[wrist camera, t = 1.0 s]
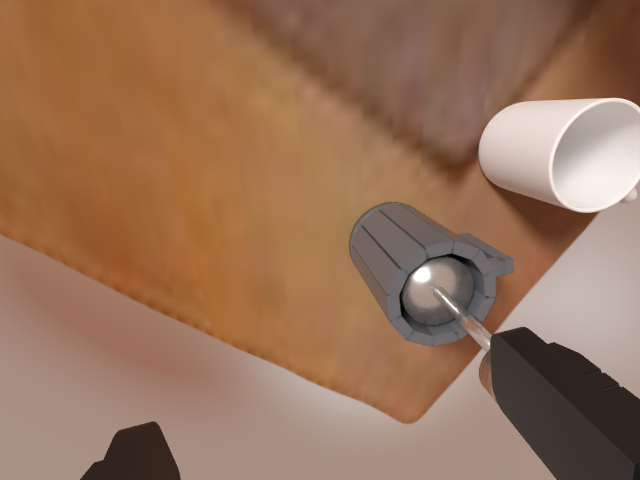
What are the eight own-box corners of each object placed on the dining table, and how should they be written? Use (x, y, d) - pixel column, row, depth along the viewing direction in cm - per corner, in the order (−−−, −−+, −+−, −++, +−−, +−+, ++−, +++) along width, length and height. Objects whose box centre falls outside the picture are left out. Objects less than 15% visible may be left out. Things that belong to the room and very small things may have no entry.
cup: (511, 83, 35) (604, 73, 26) (593, 152, 39) (701, 164, 29) (458, 161, 37) (527, 178, 28) (541, 219, 40) (628, 253, 31)
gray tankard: (343, 211, 37) (380, 254, 26) (451, 189, 38) (531, 222, 27) (355, 288, 40) (392, 357, 28) (454, 266, 41) (529, 325, 29)
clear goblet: (396, 262, 28) (487, 363, 16) (466, 247, 28) (601, 336, 17) (403, 326, 29) (489, 455, 18) (469, 311, 30) (592, 428, 19)
